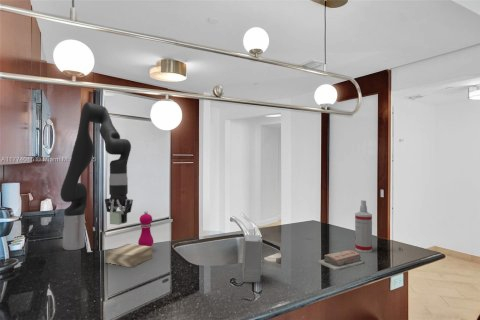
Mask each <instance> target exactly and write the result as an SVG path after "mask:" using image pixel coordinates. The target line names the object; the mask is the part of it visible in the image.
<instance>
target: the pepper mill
mask: <svg viewBox="0 0 480 320" xmlns="http://www.w3.org/2000/svg"><path fill="white" fill-rule="evenodd" d="M152 221H153V216H152V215H151V214H149V212H148V211H147V210H145V211H143V214H141V215H140V217H139V223H140V228H141V232H140V236H139V238H138V241H137V245H143V246H152V247H153V245H154V238H153V236H152V233H151V227H152Z"/></svg>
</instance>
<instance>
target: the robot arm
mask: <svg viewBox="0 0 480 320" xmlns="http://www.w3.org/2000/svg"><path fill="white" fill-rule="evenodd" d="M90 122H91V123H95V124H100V126H99V134H100V136H101V138H102V140H103V141H104V146H105V147H104V149H105V152H106V153H107V154H109V155H112V156H113V155H114V156H115V155H120V156H119V158H118V159H114V160H111V161H110V162H109V179H108V180H109V181H108V183H109V185H108V187H109V189H108V190H109V194H108V195H110V197H109V198H104V203H105V209H106V212H107V213H110V212H115V211H118V210H119V211H121V213H122V215H121V223H124V224H126V223H125V222H126V221H127V222H128V214H129V213H131V212H132V207H133V201H134V200H133V199H129V198H128V195H127V194H128V192H129V191H128V187H129V186H128V181H129V180H128V162H129V156H130V154H131V149H132V145H131V142H130V140H128V139H126V138H121V135H120V133H119V132H118V130H117V129H116V128H115V126H114V125H113V122H112V119H111V115H110V113H109V111H108V109H107V108H106V106H103V105H100V104H96V103H93V102H85V103H84V104H83V106H82V108H81V113H80V117H79V124H78V130H77V134H76V137H75V143H74V145H73V148H72V149H73V150H72V153H71V158H70V161H69V165H68V169H67V172H66V175H65V178H64V180H63V182H62V185H61V188H60V198H61V200H62V202H65V203H71V204H70V205H69V206H67V207H66V208H65V209H64V211H63V212H64V213H63V216H64V217H63V218H64V219H63V220H64V222H63V223H64V224H63V226H64V227H63V229H62V249H64V251H76V250H80V249H81V250H82V249H83V248H85V243H86V242H85V240H86V239H85V227H86V225H85V223H86V222H85V220H86V219H85V215H86V214H85V213H86V209H87V200H88V190H87V186H86V185H85V184H84V183H82V182H79V180H80V178H81V176H82V174H83V173H84V172H85V171H86V169H87V168H88V166H89V165H90V164H91V162H92V159H93V156H94V152H95V146H94V142H93V140H92V138H91V135H90V130H89V128H90V127H89V125H90Z"/></svg>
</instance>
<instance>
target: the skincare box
mask: <svg viewBox="0 0 480 320" xmlns="http://www.w3.org/2000/svg"><path fill="white" fill-rule="evenodd" d="M242 253H243V255H242V270H241V274H242V275H241V276H242V280H243V282H244V283H261V275H262V256H263V255H262V253H263V241H262V237H261V235H259V234H244V236H243V252H242Z"/></svg>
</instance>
